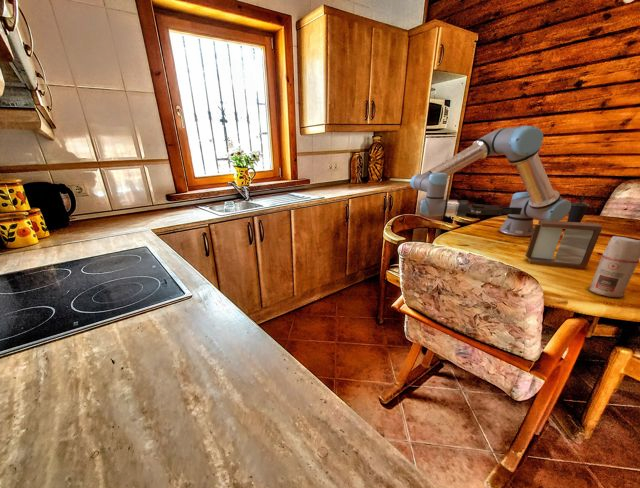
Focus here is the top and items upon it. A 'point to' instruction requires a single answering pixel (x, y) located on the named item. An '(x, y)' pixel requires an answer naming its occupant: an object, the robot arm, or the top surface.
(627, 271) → the spray can
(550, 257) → the door
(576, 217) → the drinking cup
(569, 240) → the showcase frame
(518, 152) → the robot arm
